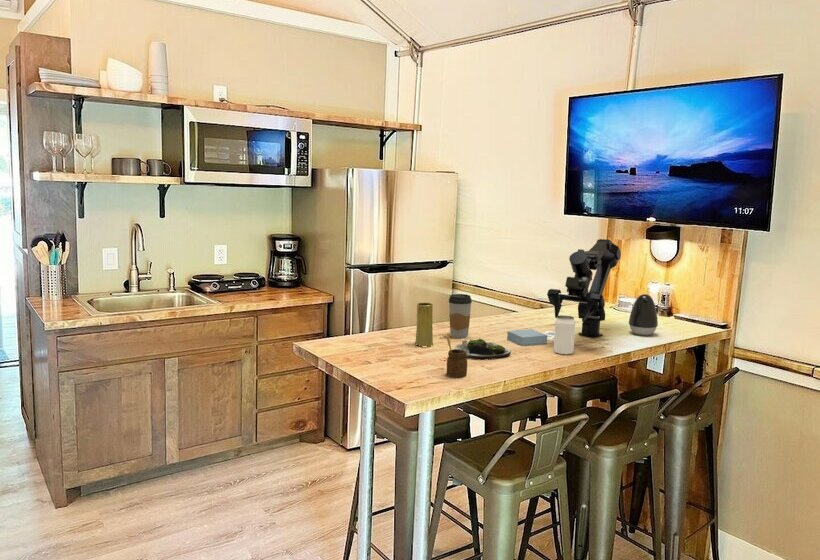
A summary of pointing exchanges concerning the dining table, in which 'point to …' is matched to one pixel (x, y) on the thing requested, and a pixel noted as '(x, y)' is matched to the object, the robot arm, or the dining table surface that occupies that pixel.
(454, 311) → the coffee cup
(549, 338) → the page
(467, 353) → the salad plate
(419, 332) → the vase
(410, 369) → the dining table surface
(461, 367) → the utensil holder
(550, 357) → the dining table surface
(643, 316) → the black egg-shaped dome
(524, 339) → the base brick
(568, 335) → the can
